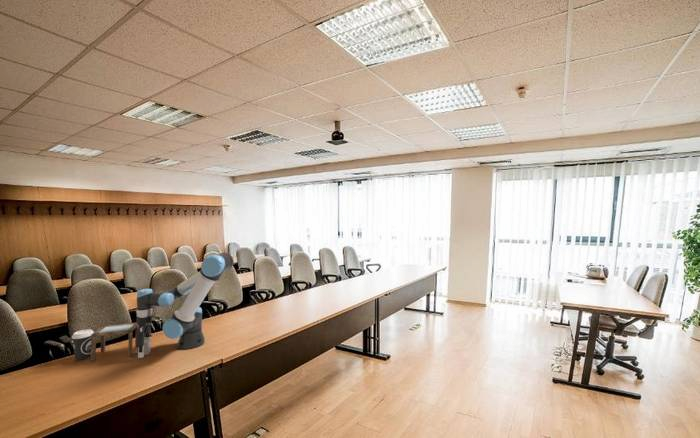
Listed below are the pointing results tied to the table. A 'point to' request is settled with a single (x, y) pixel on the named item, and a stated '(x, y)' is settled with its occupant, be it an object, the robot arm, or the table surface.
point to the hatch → (116, 328)
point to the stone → (147, 346)
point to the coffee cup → (82, 344)
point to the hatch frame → (96, 333)
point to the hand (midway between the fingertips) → (144, 352)
